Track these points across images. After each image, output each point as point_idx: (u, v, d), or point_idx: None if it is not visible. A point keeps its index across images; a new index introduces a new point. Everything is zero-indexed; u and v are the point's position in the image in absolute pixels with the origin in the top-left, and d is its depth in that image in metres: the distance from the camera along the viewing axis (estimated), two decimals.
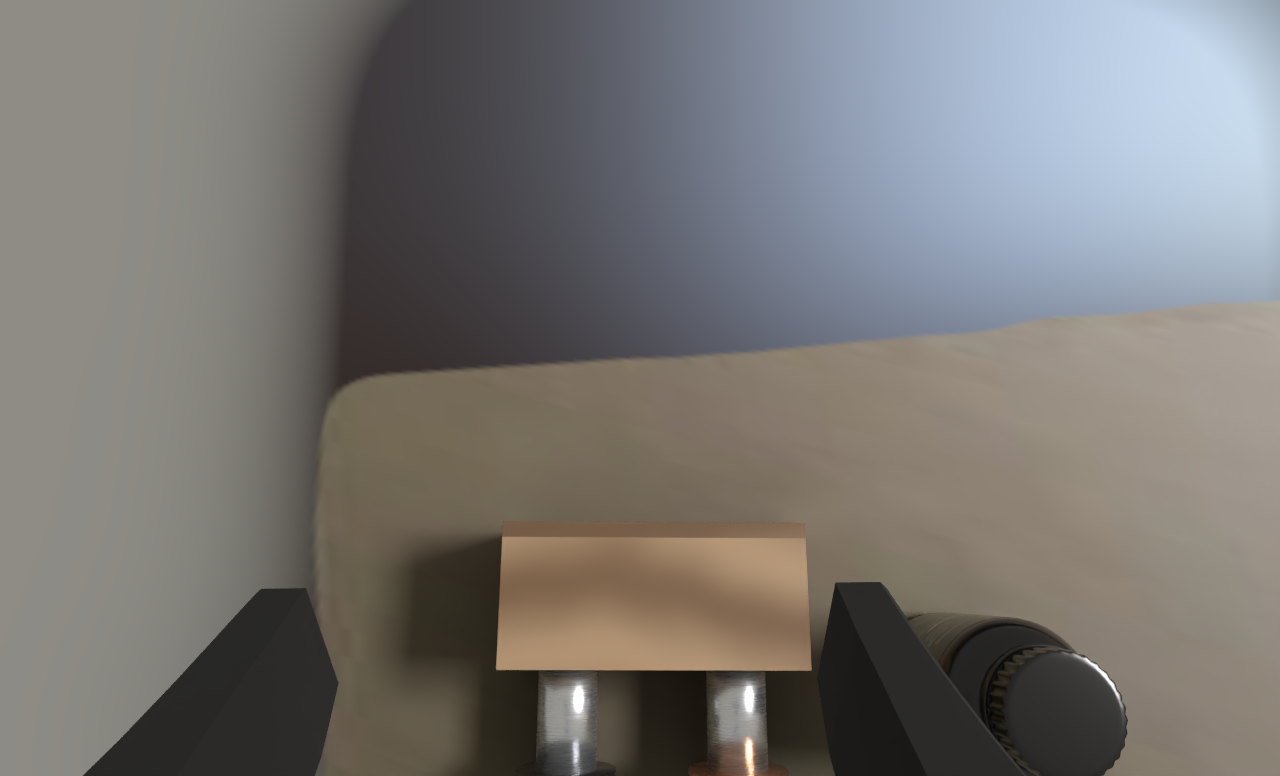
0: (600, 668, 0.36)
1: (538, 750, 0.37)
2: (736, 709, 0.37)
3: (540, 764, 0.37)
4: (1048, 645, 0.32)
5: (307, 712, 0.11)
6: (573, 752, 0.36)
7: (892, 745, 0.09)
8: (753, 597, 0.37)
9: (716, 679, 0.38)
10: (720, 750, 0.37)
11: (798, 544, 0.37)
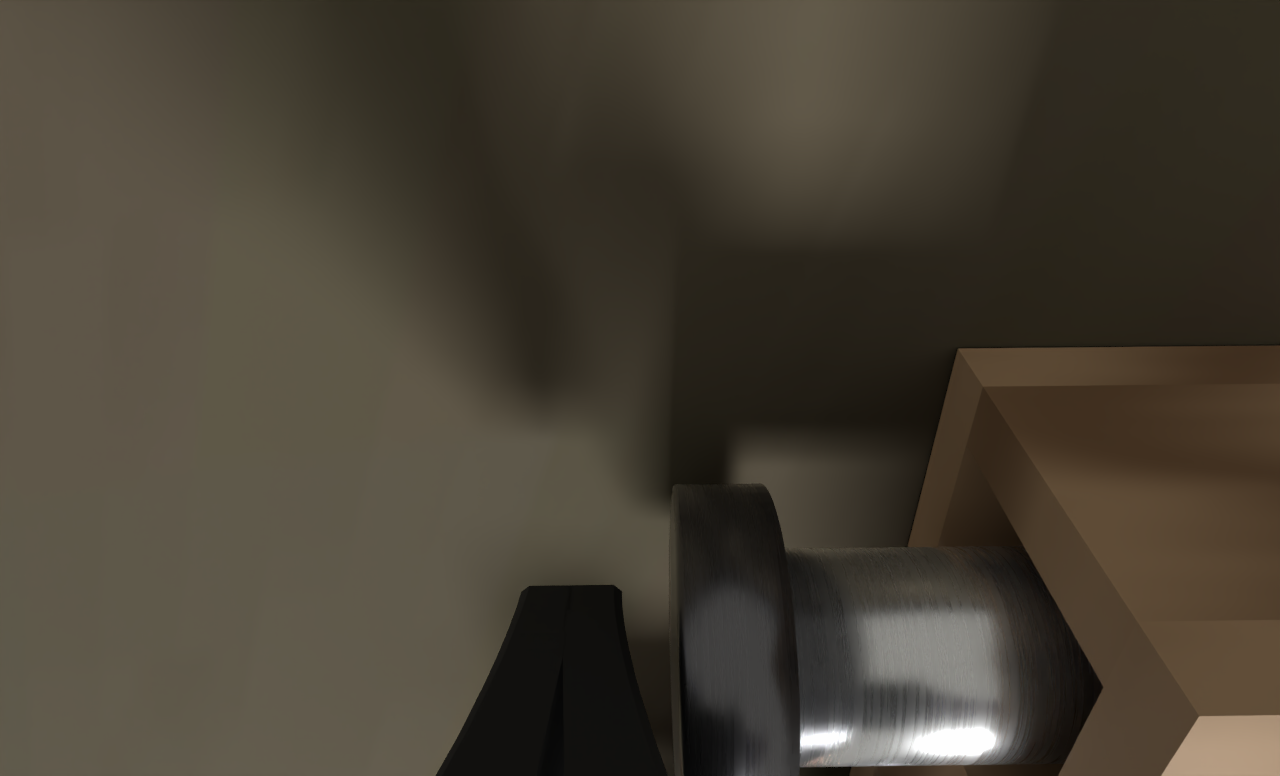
0: None
1: (856, 631, 0.10)
2: None
3: (810, 647, 0.10)
4: None
5: None
6: (852, 762, 0.10)
7: None
8: None
9: None
10: None
11: None
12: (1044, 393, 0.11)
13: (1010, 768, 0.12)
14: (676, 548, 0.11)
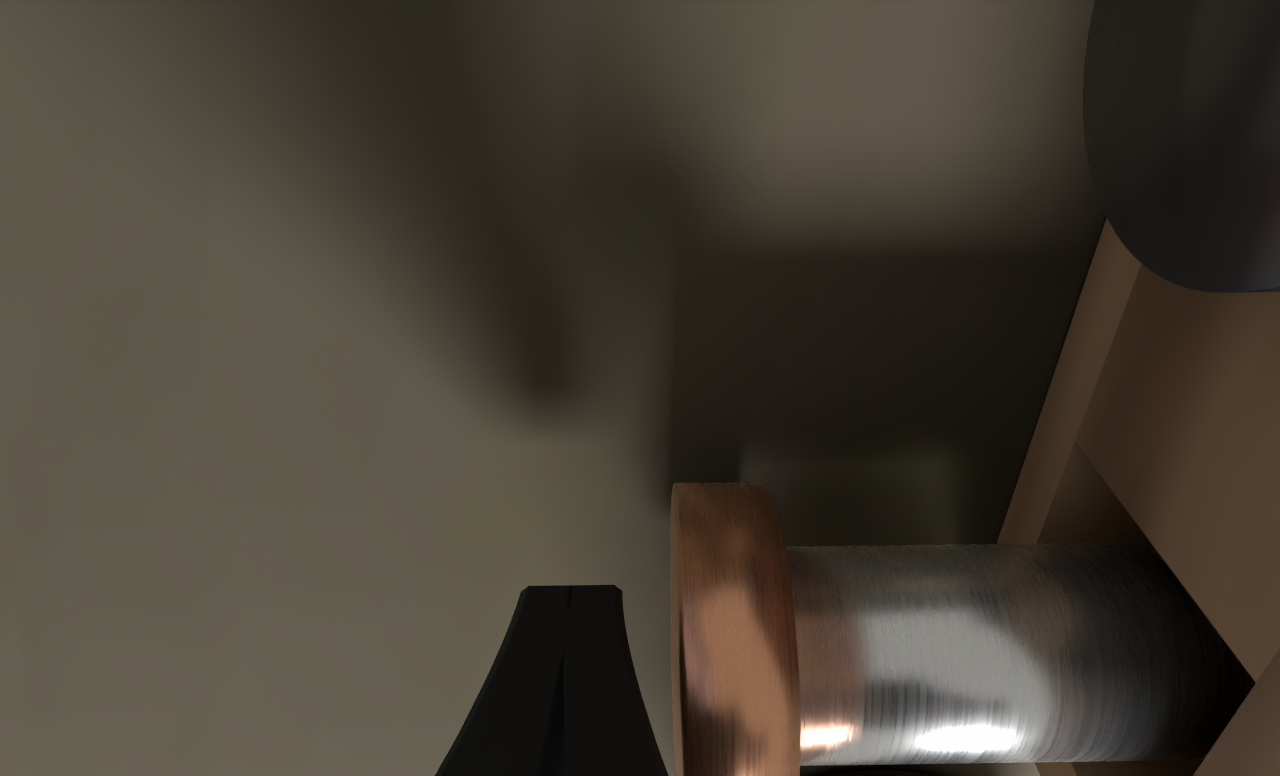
0: None
1: None
2: (1014, 734, 0.10)
3: None
4: None
5: None
6: None
7: None
8: None
9: (1120, 660, 0.10)
10: (865, 676, 0.10)
11: None
12: None
13: None
14: None
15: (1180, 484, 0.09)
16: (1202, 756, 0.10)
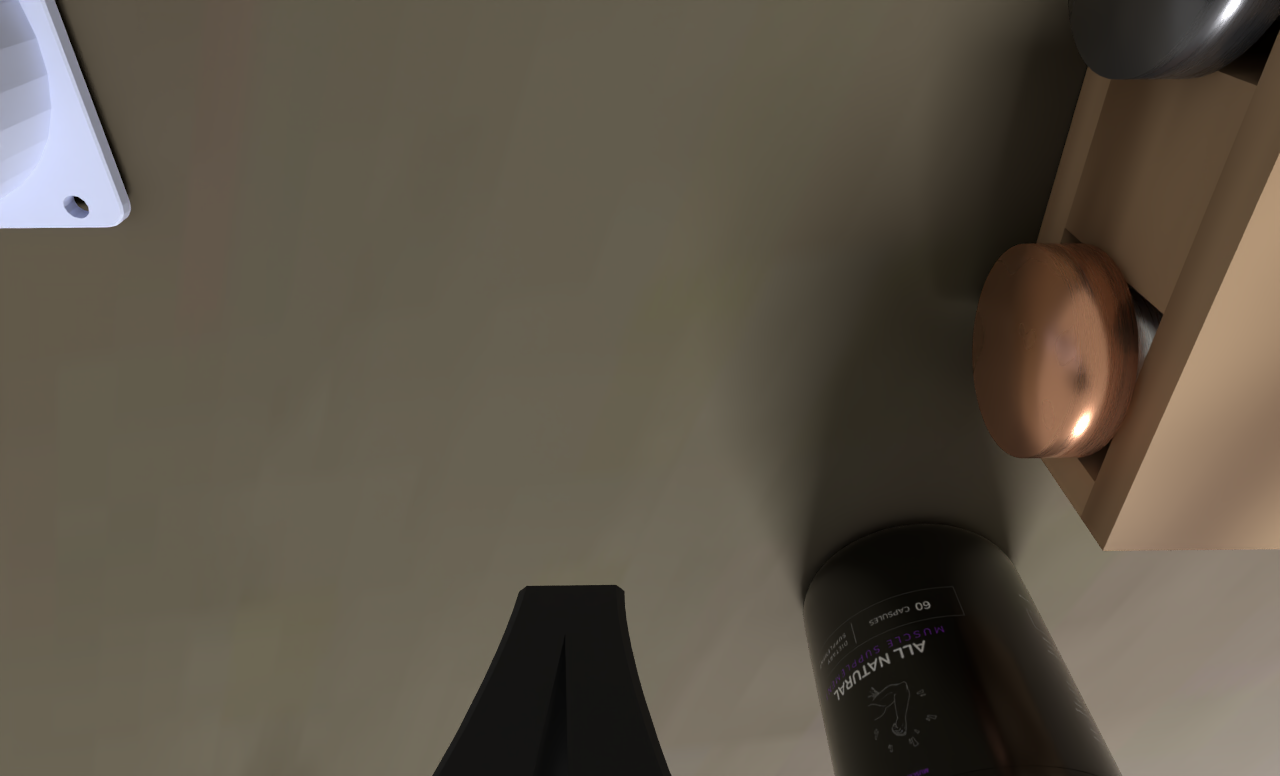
0: None
1: None
2: None
3: None
4: None
5: None
6: None
7: None
8: None
9: None
10: None
11: None
12: None
13: (1238, 65, 0.14)
14: None
15: (1125, 223, 0.16)
16: None
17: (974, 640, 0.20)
